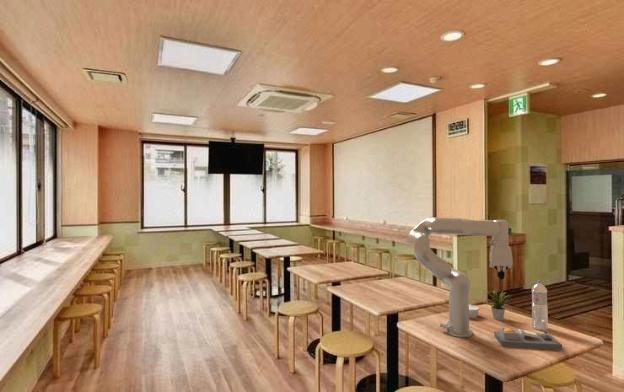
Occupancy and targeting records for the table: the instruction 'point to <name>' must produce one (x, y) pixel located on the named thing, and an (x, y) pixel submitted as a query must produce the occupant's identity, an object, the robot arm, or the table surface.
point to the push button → (508, 330)
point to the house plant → (498, 305)
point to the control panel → (526, 340)
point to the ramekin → (473, 311)
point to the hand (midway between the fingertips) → (501, 278)
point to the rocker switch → (527, 333)
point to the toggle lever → (544, 327)
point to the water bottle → (539, 306)
